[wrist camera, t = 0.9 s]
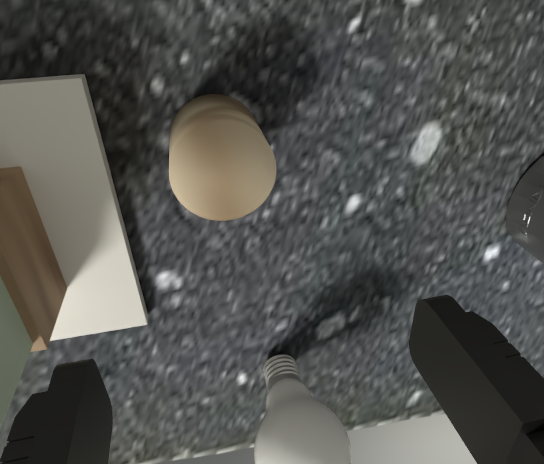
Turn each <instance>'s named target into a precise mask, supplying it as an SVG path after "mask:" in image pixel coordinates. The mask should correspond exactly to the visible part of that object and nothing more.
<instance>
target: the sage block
mask: <svg viewBox="0 0 544 464" xmlns="http://www.w3.org/2000/svg"><path fill="white" fill-rule="evenodd" d="M32 346H33V342H32V340H31V338H30V336H29V334H28V332H27V330H26V328H25V326H24V324H23V322H22V320H21V318H20V315H19V313H18V311H17V309H16V307H15V305H14V303H13V301H12V299H11V297H10V295H9V293H8V291H7V289H6V286H5V284H4V282H3V280H2V278H1V276H0V431H1V428H2V425H3V423H4V420H5V417H6V415H7V412H8V409H9V407H10V404H11V401H12V399H13V396H14V393H15V391H16V388H17V386H18V383H19V380H20V378H21V375H22V372H23V370H24V367H25V364H26V362H27V359H28V356H29V354H30V351H31V348H32Z"/></svg>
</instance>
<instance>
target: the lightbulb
mask: <svg viewBox="0 0 544 464" xmlns="http://www.w3.org/2000/svg"><path fill="white" fill-rule="evenodd" d="M263 373H264V377H265V381H266V385H267V390H268V394H267V399H266V414H265V416H264V418H263V420H262V422H261V424H260V427H259V429H258V432H257V435H256V439H255V446H254V458H255V464H351V447H350V441H349V438H348V435H347V432H346V430H345V428H344V426H343V424H342V422H341V421H340V420H339V418H338V417H337V416H336V415H335V414H334V413H333V412H332V411H331V410H330V409H329V408H328V407H326V406H325V405H323V404H322V403H320V402H319V401H317V400H316V399H314V398H313V397H312V395H311V393H310V392H309V390H308V389H307V387H306V386H305V385H304V384H303V383H302V381H301V379H300V375H299V372H298V369H297V366H296V363H295V360H294V358H293V357H291V356H289V355H285V354H280V355H275V356H273V357H271V358H269V359H268V360H267V361H266V362H265V364H264V366H263Z"/></svg>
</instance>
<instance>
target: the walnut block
mask: <svg viewBox="0 0 544 464" xmlns="http://www.w3.org/2000/svg"><path fill="white" fill-rule="evenodd" d="M0 276H1V278H2V280H3V282H4V284H5V286H6V289H7V291H8V293H9V295H10V297H11V299H12V301H13V303H14V305H15V307H16V309H17V311H18V313H19V315H20V318H21V320H22V322H23V324H24V326H25V328H26V330H27V332H28V334H29V336H30V338H31V340H32V342H33V346H32V348H31V351H30V352H33V351H39V350H44V349H47V347H48V344H49V341H50V338H51V335H52V332H53V330H54V327H55V324H56V321H57V318H58V315H59V312H60V309H61V306H62V303H63V300H64V297H65V294H66V291H67V286H66V283H65V280H64V278H63V275H62V273H61V270H60V267H59V265H58V262H57V260H56V257H55V254H54V252H53V249H52V246H51V244H50V241H49V239H48V236H47V233H46V231H45V228H44V226H43V223H42V220H41V218H40V215H39V212H38V210H37V207H36V205H35V202H34V199H33V197H32V194H31V192H30V189H29V186H28V184H27V181H26V178H25V176H24V173H23V171H22V168H21V166H18V167H9V168H0Z"/></svg>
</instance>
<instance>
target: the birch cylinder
mask: <svg viewBox="0 0 544 464" xmlns="http://www.w3.org/2000/svg"><path fill="white" fill-rule="evenodd" d="M275 178H276V161H275V157H274V154H273V151H272V149H271V147H270V145H269V144H268V142H267V140H266V138H265V137H264V135H263V133H262V131H261V130H260V128H259V126H258V124H257V122H256V121H255V119H254V117H253V115H252V114H251V112H250V111H249V110H248V109H247V108H246V107H245V106H244V105H243V104H242V103H241V102H239V101H238V100H236V99H234V98H232V97H229V96H226V95H222V94H206V95H202V96H198V97H196V98H194V99H192V100H190V101H189V102H187V103H186V104H185V105H184V106H182V107H181V109H180V110H179V111H178V112H177V114H176V115H175V117H174V119H173V121H172V124H171V128H170V144H169V179H170V184H171V187H172V190H173V192H174V194H175V196H176V197H177V199H178V200H179V201H180V203H181V204H182V205H183V206H184V207H185V208H187V209H188V210H189V211H191V212H192V213H194V214H196V215H198V216H200V217H203V218H206V219H210V220H219V221H224V220H232V219H237V218H240V217H243V216H245V215H247V214H249V213H251V212H252V211H254V210H255V209H257V208H258V207H259V206H260V205H261V204H262V203H263V202H264V201H265V200H266V198H267V197H268V196H269V194H270V192H271V190H272V188H273V185H274V182H275Z"/></svg>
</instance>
